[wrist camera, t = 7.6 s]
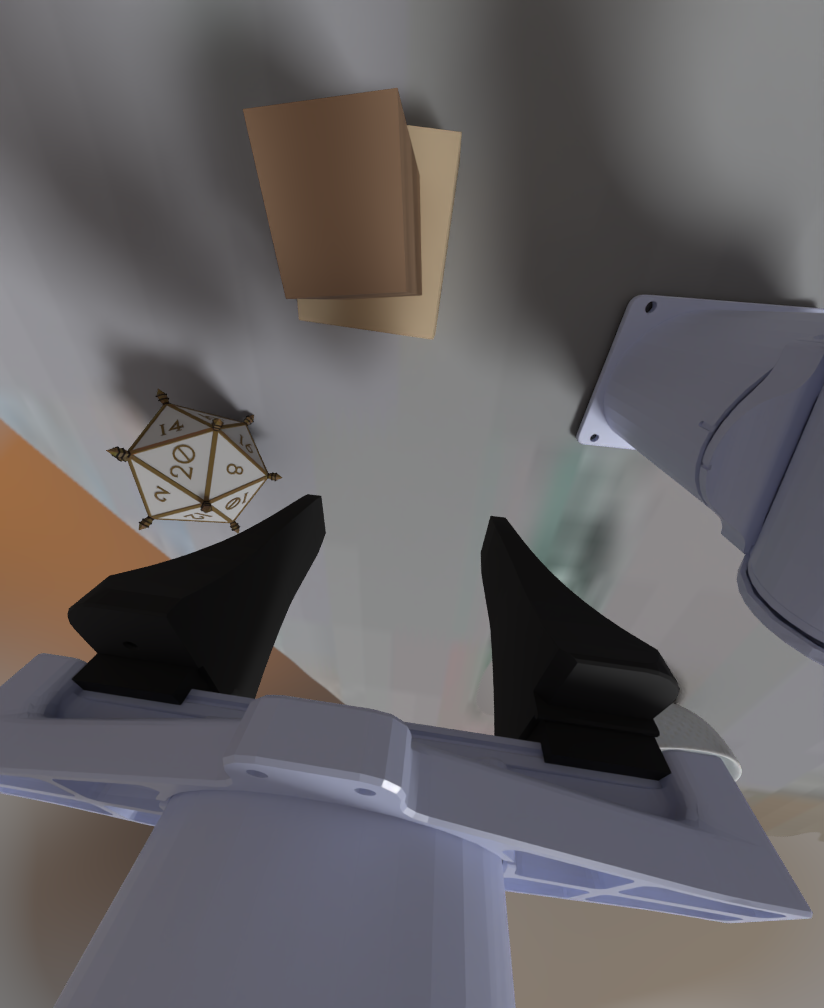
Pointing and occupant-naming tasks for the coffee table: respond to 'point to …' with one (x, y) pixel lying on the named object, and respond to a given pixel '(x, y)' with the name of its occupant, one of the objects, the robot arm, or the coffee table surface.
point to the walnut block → (340, 195)
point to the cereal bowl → (693, 736)
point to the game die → (195, 466)
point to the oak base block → (437, 194)
